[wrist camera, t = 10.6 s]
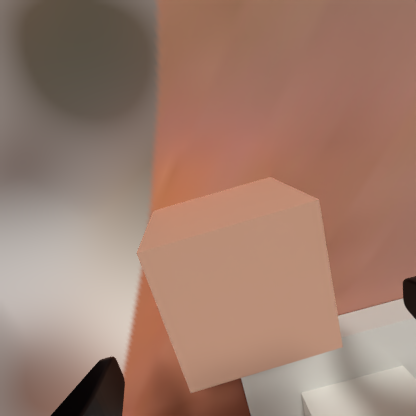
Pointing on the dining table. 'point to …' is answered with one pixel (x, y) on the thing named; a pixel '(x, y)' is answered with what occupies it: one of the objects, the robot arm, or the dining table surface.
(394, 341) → the baseplate
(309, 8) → the dining table surface
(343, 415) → the off-white brick
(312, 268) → the terracotta brick
